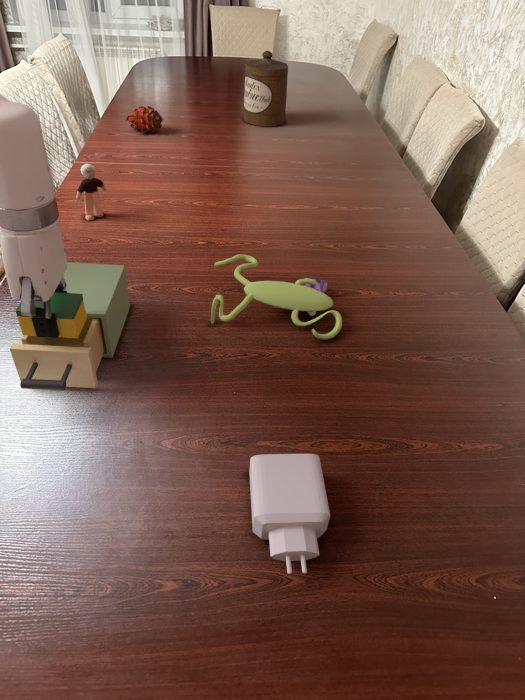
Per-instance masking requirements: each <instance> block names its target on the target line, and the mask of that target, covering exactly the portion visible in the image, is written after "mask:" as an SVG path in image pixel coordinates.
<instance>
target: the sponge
mask: <svg viewBox="0 0 525 700" xmlns="http://www.w3.org/2000/svg"><path fill="white" fill-rule="evenodd" d="M35 294H37V293H36V292H35ZM34 303H35V307H41V308H43V309H44V305H43V302H42V301H34ZM50 303H51V312H52V314H55V317H56V321H57V325H58V330H59V334H60V335H59V337H64V338H78V337H79V335H80V332H81V330H82V328H83V326H84V323H85V321H86V319H87V316H86V311H85V305H84V300H83V295H82V294H77V293H60V292H54V293H53V295H52V297H51V298H50ZM15 314H16V317H17V321H18V324H19V327H20V331H21V334H22V336H23V335H27V336H36V333H35V330H34V326H33V322H32V319H31V317H29V316H27V315H22V314H21V301H20V302H19V304H18V305H17V307H16V309H15Z"/></svg>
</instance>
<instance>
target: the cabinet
mask: <svg viewBox="0 0 525 700" xmlns="http://www.w3.org/2000/svg"><path fill="white" fill-rule="evenodd" d="M64 279H65V281H66V289H65V290H64V291H67V293H77V294H82V295H83V300H84V305H85V311H86V316H87V317H91V318H101V321H102V326H103V332H104V338H105V343H106V347H105V350H104V353H103V355H102V358H111V359H112V358H114V355H115V352H116V350H117V346H118V343H119V340H120V338H121V335H122V332H123V328H124V325H125V322H126V320H127V317H128V314H129V312H130V308H131V304H130V303H131V302H130V295H129V289H128V287H129V286H128V281H127V273H126V265H124V264H109V263H108V264H107V263H93V262H91V263H90V262H72V261H67V268H66V271H65V273H64Z"/></svg>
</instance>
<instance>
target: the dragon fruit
mask: <svg viewBox="0 0 525 700" xmlns="http://www.w3.org/2000/svg"><path fill="white" fill-rule="evenodd" d="M163 121H164V118H163V117H162V114H160V112H159V111H158V110H157V109H155V108H154V107H152V106H151V105H147V107H145V106H144V105H140V106H138V108H135V109H134V111H133V112H131V113H130V114H128V115H127V116H126V118H125V122H128V123H130V124H129V126H130V128H132V129H133V130H138V131H139V132H142V134H145V133H147V132H149V133H155V130H157V129H159V130H160V129H161V128H162V127H163V125H162V123H163Z"/></svg>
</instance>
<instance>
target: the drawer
mask: <svg viewBox="0 0 525 700" xmlns="http://www.w3.org/2000/svg"><path fill="white" fill-rule="evenodd" d="M20 339H21V343H12V344H11V345H10V347H9V352H10V354H11V357H12V360H13V365H14V366H15V369H16V371H17V372H16V373H17V375H18V378H19V381H20V384H19V385H20V389H25V390H44V391H45V390H46V391H47V390H48V391H66V389H67V388H86V389H87V388H88V389H96V388H97V386H98V383H99V382H98V377H97V371H98V368H99V366H100V363H101V361H102V358H103V357H102V355H103V353H104V350H105V347H106V343H105V338H104V332H103V326H102V321H101V318H91V317H87V319H86V321H85V323H84V326H83V328H82V330H81V332H80V335H79V337H78V338H64V337H58V338H47V337H38V336H27V335H23V334H22V337H21V338H20Z"/></svg>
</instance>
